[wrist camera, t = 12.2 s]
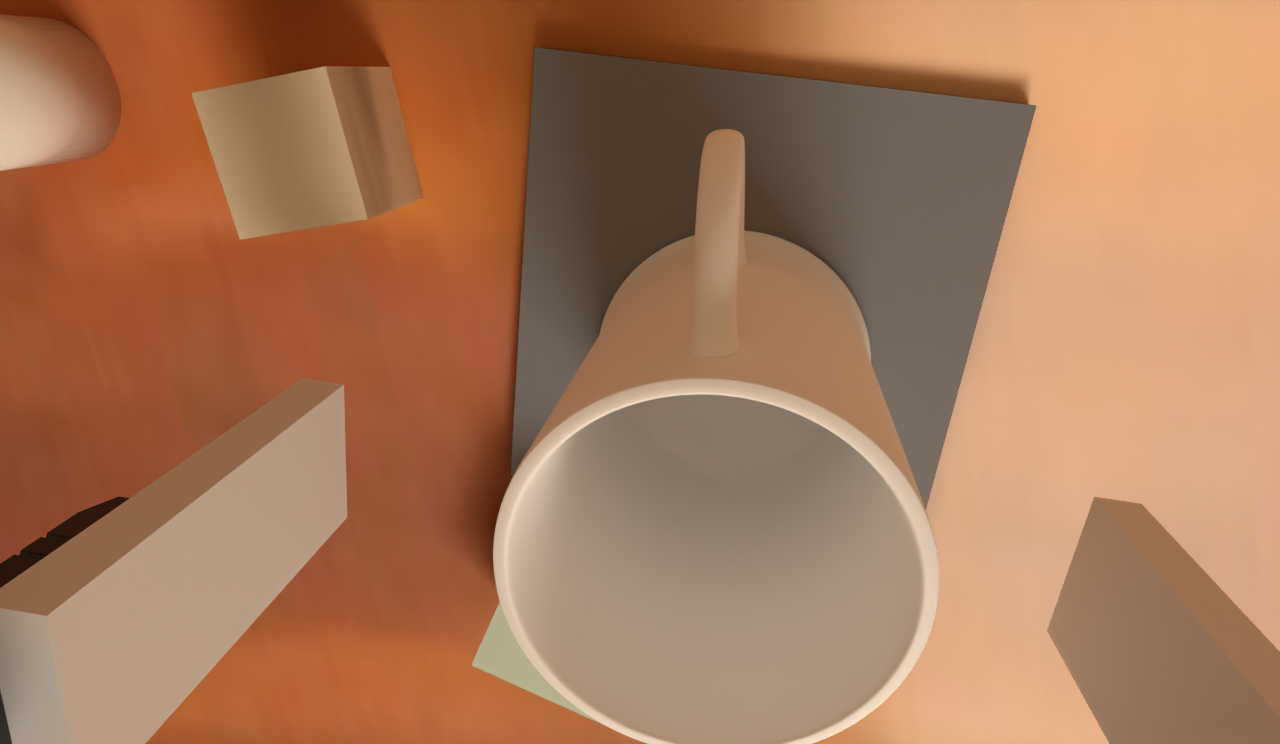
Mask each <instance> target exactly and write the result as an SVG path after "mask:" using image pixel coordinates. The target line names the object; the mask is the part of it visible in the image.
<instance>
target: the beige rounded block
mask: <svg viewBox="0 0 1280 744" xmlns="http://www.w3.org/2000/svg"><path fill="white" fill-rule="evenodd" d="M120 117H121V100H120V94H119V89H118V85H117V82H116V79H115V76H114V74H113V71H112V69H111V67H110V66H109V64H108V62H107V60H106V59H105V57H104V56H103V54H102V53H101V51H100V50H99V49H98V48H97V47H96V45H95V44H94V43H93V42H92V41H91V40H90V39H89V38H88V37H86V36H85V35H84V34H83V33H82V32H80V31H79V30H77V29H76V28H74V27H73V26H71V25H69V24H66V23H64V22H62V21H59V20H56V19H51V18H43V17H29V16H15V15H1V14H0V171H1V170H9V169H16V168H24V167H31V166H39V165H46V164H54V163H61V162H69V161H76V160H84V159H88V158H91V157H94V156H96V155H98V154H99V153H101V152H102V151H104V150H105V149H106V148H107V147H108V146H109V144H110V143H111V142H112V140H113V139H114V137H115V135H116V133H117V130H118V127H119V123H120Z"/></svg>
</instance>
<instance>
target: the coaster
mask: <svg viewBox="0 0 1280 744" xmlns="http://www.w3.org/2000/svg"><path fill="white" fill-rule="evenodd" d="M1035 109H1036V106H1035V105H1027V104H1019V103H1010V102H1002V101H993V100H984V99H976V98H967V97H959V96H950V95H941V94H933V93H924V92H915V91H907V90H898V89H890V88H881V87H872V86H864V85H855V84H847V83H838V82H829V81H821V80H812V79H804V78H795V77H786V76H778V75H769V74H761V73H752V72H743V71H735V70H726V69H718V68H709V67H700V66H692V65H683V64H675V63H666V62H657V61H649V60H640V59H632V58H623V57H614V56H606V55H597V54H589V53H580V52H571V51H563V50H554V49H546V48H536V47H534V63H533V81H532V99H531V117H530V135H529V153H528V171H527V189H526V207H525V225H524V243H523V261H522V279H521V298H520V316H519V334H518V352H517V370H516V388H515V406H514V424H513V442H512V460H511V476H513V475H514V474H515V472H516V470H517V468H518V466H519V465H520V463H521V461H522V460H523V458H524V456H525V455H526V453H527V452H528V450H529V448H530V447H531V445H532V443H533V442H534V440H535V439H536V437H537V435H538V434H539V432H540V430H541V429H542V427H543V426H544V424H545V422H546V421H547V419H548V418H549V416H550V414H551V413H552V411H553V409H554V408H555V406H556V405H557V403H558V401H559V400H560V398H561V396H562V395H563V393H564V392H565V390H566V388H567V387H568V385H569V384H570V382H571V380H572V379H573V377H574V375H575V374H576V372H577V371H578V369H579V367H580V366H581V364H582V362H583V361H584V359H585V358H586V356H587V354H588V353H589V351H590V350H591V348H592V346H593V345H594V343H595V341H596V340H597V338H598V337H599V335H600V330H601V326H602V323H603V319H604V317H605V314H606V311H607V309H608V307H609V305H610V303H611V301H612V299H613V297H614V295H615V294H616V292H617V291H618V289H619V288H620V286H621V285H622V283H623V282H624V281H625V280H626V278H627V277H628V276H629V275H630V274H631V273H632V272H633V271H634V270H635V269H636V268H637V267H638V266H639V265H640V264H641V263H642V262H644V261H645V260H646V259H647V258H649V257H650V256H651V255H653V254H654V253H656V252H657V251H659V250H661V249H662V248H664V247H666V246H668V245H670V244H672V243H674V242H676V241H679V240H681V239H684V238H687V237H690V236H693V235H695V224H696V208H697V195H698V183H699V173H700V164H701V157H702V151H703V146H704V142H705V139H706V137H707V136H708V134H710V133H711V132H713V131H715V130H720V129H732V130H736V131H738V132H740V133H741V134H742V135H743V137H744V142H745V214H744V230H745V231H754V232H760V233H765V234H769V235H772V236H776V237H779V238H782V239H784V240H787V241H789V242H792V243H794V244H796V245H798V246H800V247H802V248H804V249H805V250H807V251H809V252H810V253H812V254H813V255H815V256H816V257H817V258H819V259H820V260H821V261H823V262H824V263H825V264H826V265H827V266H828V267H830V268H831V269H832V270H833V271H834V272H835V273H836V274H837V275H838V277H839V278H840V279H841V280H842V281H843V283H844V284H845V285H846V286H847V288H848V289H849V291H850V292H851V294H852V295H853V297H854V299H855V301H856V303H857V304H858V307H859V309H860V311H861V313H862V316H863V318H864V321H865V324H866V328H867V332H868V336H869V342H870V351H871V365H872V367H873V370H874V373H875V375H876V378H877V381H878V383H879V386H880V389H881V391H882V394H883V397H884V399H885V402H886V405H887V407H888V410H889V413H890V415H891V418H892V421H893V423H894V426H895V429H896V432H897V434H898V437H899V440H900V442H901V445H902V448H903V450H904V453H905V456H906V458H907V461H908V464H909V466H910V469H911V472H912V474H913V477H914V480H915V482H916V485H917V488H918V490H919V493H920V496H921V499H922V501H923V504H924V507H925V510H926V507H927V503H928V499H929V496H930V492H931V488H932V485H933V481H934V477H935V474H936V470H937V466H938V463H939V459H940V455H941V452H942V448H943V445H944V441H945V437H946V434H947V430H948V426H949V423H950V419H951V415H952V412H953V408H954V404H955V401H956V397H957V393H958V390H959V386H960V382H961V379H962V375H963V371H964V368H965V364H966V361H967V357H968V353H969V350H970V346H971V342H972V339H973V335H974V331H975V328H976V324H977V320H978V317H979V313H980V309H981V306H982V302H983V298H984V295H985V291H986V288H987V284H988V280H989V277H990V273H991V269H992V266H993V262H994V258H995V255H996V251H997V247H998V244H999V240H1000V236H1001V233H1002V229H1003V225H1004V222H1005V218H1006V215H1007V211H1008V207H1009V204H1010V200H1011V196H1012V193H1013V189H1014V185H1015V182H1016V178H1017V174H1018V171H1019V167H1020V163H1021V160H1022V156H1023V152H1024V149H1025V145H1026V142H1027V138H1028V134H1029V131H1030V127H1031V123H1032V120H1033V116H1034V112H1035Z"/></svg>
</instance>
